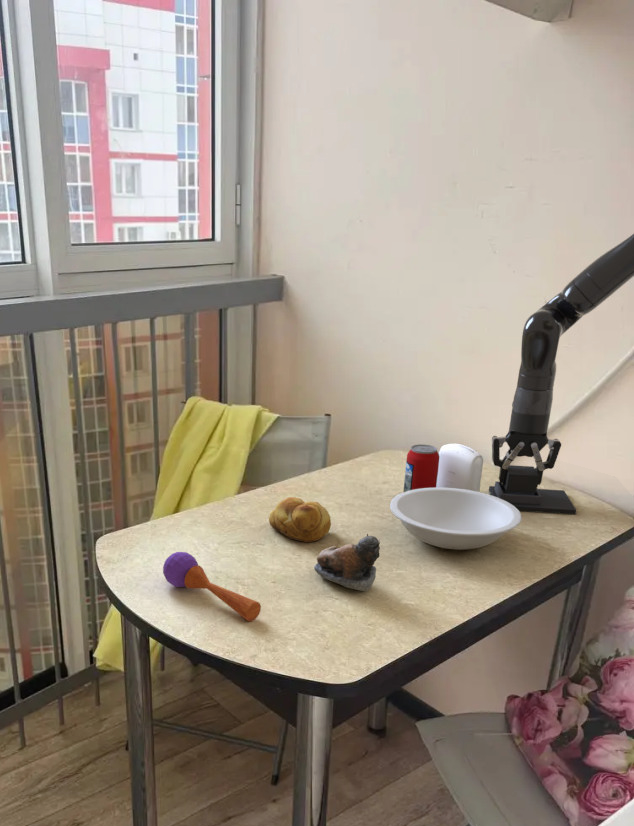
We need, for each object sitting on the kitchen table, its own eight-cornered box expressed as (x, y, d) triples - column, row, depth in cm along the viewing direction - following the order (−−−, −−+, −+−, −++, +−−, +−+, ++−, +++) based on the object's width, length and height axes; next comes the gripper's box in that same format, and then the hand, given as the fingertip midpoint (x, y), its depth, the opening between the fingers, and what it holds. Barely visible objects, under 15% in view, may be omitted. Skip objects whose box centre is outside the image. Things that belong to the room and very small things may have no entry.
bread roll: (258, 530, 153) (258, 492, 150) (291, 517, 159) (293, 480, 156) (306, 550, 144) (308, 510, 141) (340, 536, 150) (342, 497, 147)
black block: (530, 483, 169) (533, 466, 167) (535, 493, 164) (538, 475, 162) (502, 482, 170) (504, 464, 168) (506, 491, 165) (509, 473, 163)
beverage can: (406, 493, 172) (412, 441, 167) (437, 498, 169) (443, 446, 164) (399, 503, 166) (404, 450, 162) (430, 508, 164) (436, 454, 159)
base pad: (563, 494, 172) (565, 482, 171) (575, 514, 161) (578, 502, 160) (488, 490, 174) (490, 478, 173) (496, 509, 164) (498, 497, 162)
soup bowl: (543, 549, 145) (549, 517, 142) (451, 579, 134) (456, 544, 131) (449, 509, 164) (453, 479, 161) (361, 532, 152) (364, 500, 150)
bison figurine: (306, 578, 134) (308, 524, 130) (332, 565, 138) (335, 513, 134) (362, 602, 126) (366, 546, 122) (387, 588, 131) (392, 533, 126)
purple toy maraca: (238, 606, 116) (153, 556, 129) (241, 636, 120) (158, 584, 132) (265, 587, 120) (180, 540, 132) (267, 616, 123) (184, 568, 135)
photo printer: (431, 495, 171) (437, 441, 166) (444, 491, 173) (451, 438, 168) (466, 509, 163) (474, 453, 158) (480, 505, 165) (488, 450, 160)
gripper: (497, 411, 158) (486, 489, 164) (572, 414, 155) (557, 493, 162) (492, 402, 164) (482, 477, 171) (564, 405, 162) (550, 481, 169)
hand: (519, 484), depth 167 cm, fingers closed on black block, 6 cm apart
